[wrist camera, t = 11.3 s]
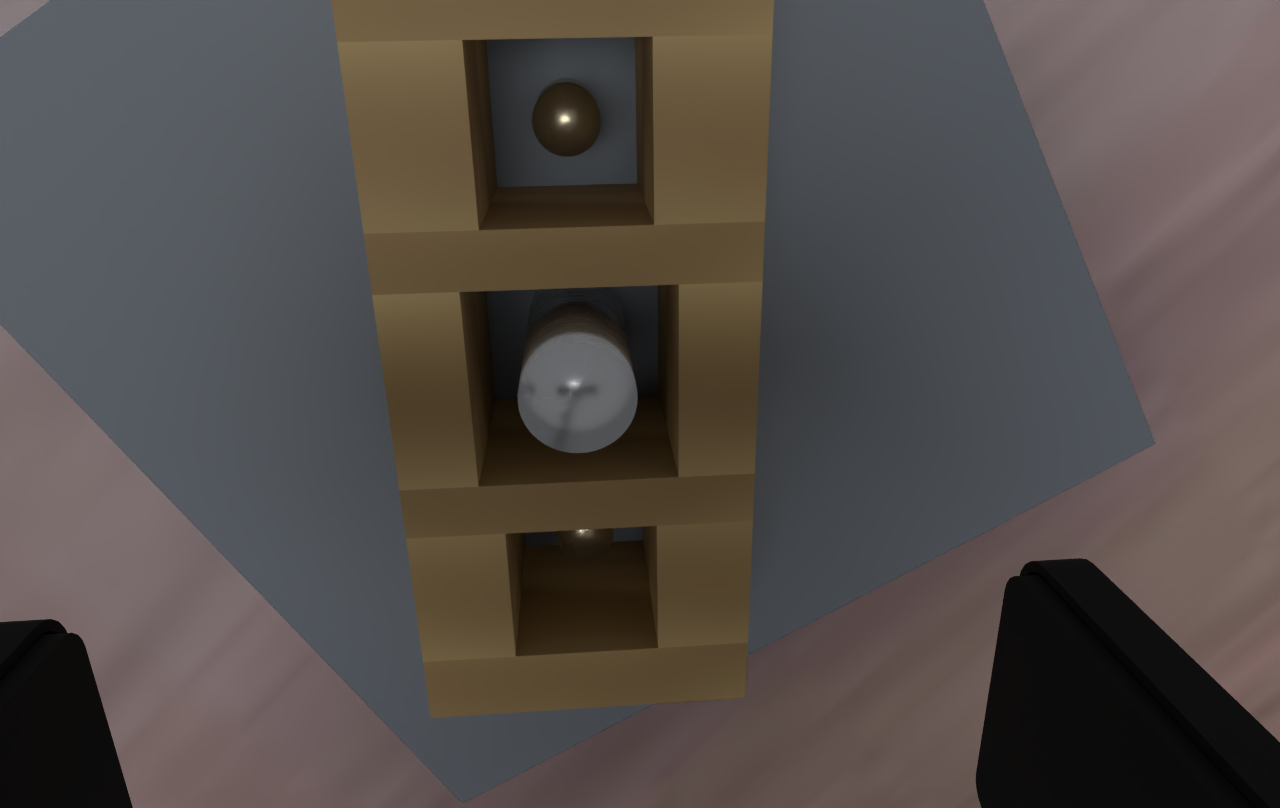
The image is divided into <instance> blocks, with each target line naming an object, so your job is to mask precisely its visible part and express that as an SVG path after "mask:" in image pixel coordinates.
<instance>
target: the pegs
mask: <svg viewBox="0 0 1280 808" xmlns="http://www.w3.org/2000/svg"><path fill="white" fill-rule="evenodd" d="M532 126H533V131H534V133H535V136H536V138H537V140H538V141H539V143H540V144H541V145H542V146H543V147H544V148H545V149H546V150H548V151H549V152H551V153H553V154H555V155H558V156H563V157H572V156H577V155H579V154H582V153H584V152H585V151H587V150H588V149H589V148H590V147H591V146H592V145H593V144H594V143H595V141H596V139H597V138H598V135H599V132H600V128H601V115H600V111H599V108H598V105H597V102H596V99H595V97H594V95H593V93H592V92H591V90H590V89H589V88H588V87H587V86H586V85H585V84H583V83H582V82H580V81H578V80H575V79H571V78H561V79H557V80H554V81H552V82H550V83H549V84H548V85H546V86H545V87H544V89H543V90H542V91H541V93H540V95H539V97H538V99H537V102H536V104H535V107H534V109H533V114H532ZM637 399H638V396H637V387H636V382H635V376H634V371H633V365H632V360H631V354H630V349H629V343H628V338H627V332H626V327H625V322H624V316H623V311H622V306H621V303H620V300H619V298H618V296H617V294H616V293H615V291H614V290H613V288H612V287H592V288H563V289H538V290H537V292H536V293H535V295H534V297H533V299H532V301H531V305H530V309H529V317H528V324H527V331H526V338H525V345H524V353H523V360H522V367H521V374H520V382H519V389H518V407H519V412H520V415H521V418H522V420H523V422H524V424H525V425H526V427H527V429H528V430H529V431H530V432H531V433H532V435H534V436H535V437H536V438H537V439H538V440H539V441H541V442H542V443H544V444H545V445H547V446H549V447H551V448H553V449H556V450H559V451H563V452H569V453H587V452H592V451H596V450H599V449H602V448H604V447H606V446H608V445H610V444H611V443H613V442H614V441H616V440H617V439H618V438H619V437H620V436H621V435H622V434H623V433H624V432H625V431H626V430H627V428H628V427H629V425H630V424H631V422H632V420H633V418H634V415H635V412H636V408H637ZM557 542H558V545H559V547H560V549H561V550H562V551H563V552H564V553H565V554H566V555H567V556H569V557H571V558H573V559H577V560H592V559H596V558H598V557H600V556H602V555H603V554H605V553H606V552H607V551H608V549H609V548H610V547H611V545H612V542H613V528H606V529H587V530H567V531H557Z"/></svg>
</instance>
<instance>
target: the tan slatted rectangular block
mask: <svg viewBox="0 0 1280 808" xmlns="http://www.w3.org/2000/svg"><path fill="white" fill-rule="evenodd" d="M331 3H332V10H333V17H334V24H335V31H336V39H337V46H338V53H339V60H340V67H341V75H342V82H343V89H344V96H345V103H346V111H347V118H348V125H349V132H350V140H351V147H352V154H353V161H354V168H355V176H356V183H357V190H358V197H359V204H360V212H361V219H362V226H363V233H364V240H365V248H366V255H367V262H368V269H369V276H370V284H371V291H372V298H373V305H374V313H375V320H376V327H377V334H378V341H379V349H380V356H381V363H382V370H383V377H384V385H385V392H386V399H387V406H388V413H389V421H390V428H391V435H392V442H393V450H394V457H395V464H396V471H397V478H398V486H399V493H400V500H401V507H402V514H403V522H404V529H405V536H406V543H407V550H408V558H409V565H410V572H411V579H412V586H413V594H414V601H415V608H416V615H417V623H418V630H419V637H420V644H421V651H422V659H423V666H424V673H425V680H426V687H427V695H428V702H429V709H430V716H431V718H437V717H453V716H469V715H485V714H501V713H517V712H532V711H548V710H564V709H580V708H596V707H612V706H628V705H643V704H659V703H675V702H691V701H707V700H723V699H738V698H746V679H747V655H748V630H749V605H750V580H751V556H752V531H753V506H754V482H755V457H756V432H757V408H758V383H759V358H760V334H761V309H762V284H763V260H764V235H765V210H766V186H767V161H768V136H769V112H770V87H771V62H772V38H773V13H774V0H331ZM599 37H635V87H636V149H637V183H631V184H595V185H559V186H522V187H497V176H496V163H495V150H494V137H493V124H492V111H491V98H490V85H489V72H488V59H487V46H486V39H542V38H599ZM650 285H658V393H643V394H637V396H638V399H637V408H636V412H635V415H634V418H633V420H632V422H631V424H630V425H629V427H628V428H627V430H626V431H625V432H624V433H623V434H622V435H621V436H620V437H619V438H618V439H617V440H616V441H614V442H613V443H611V444H610V445H608V446H606V447H604V448H602V449H599V450H596V451H592V452H587V453H569V452H563V451H559V450H556V449H553V448H551V447H549V446H547V445H545V444H544V443H542V442H541V441H539V440H538V439H537V438H536V437H535V436H534V435H532V433H531V432H530V431H529V430H528V429H527V427H526V425H525V424H524V422H523V420H522V418H521V415H520V412H519V407H518V399H500V400H495V388H494V377H493V365H492V354H491V342H490V330H489V319H488V307H487V296H486V291H505V290H534V289H563V288H592V287H621V286H650ZM626 527H643V540H637V541H618V542H612V545H611V547H610V548H609V549H608V551H607V552H606V553H605V554H603V555H602V556H600V557H598V558H596V559H592V560H577V559H573V558H571V557H569V556H567V555H566V554H565V553H564V552H563V551H562V550H561V549H560V547H559V545H541V546H525V538H524V533H528V532H547V531H567V530H587V529H606V528H626Z"/></svg>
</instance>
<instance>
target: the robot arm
mask: <svg viewBox="0 0 1280 808" xmlns="http://www.w3.org/2000/svg"><path fill="white" fill-rule="evenodd" d="M976 787H977V793H978V798H979V801H980V804H981V807H982V808H1280V742H1279V741H1278V740H1277V739H1276V738H1275V737H1274V736H1273V735H1272V734H1271V733H1270V732H1268V731H1267V730H1266V729H1265V728H1264V727H1263V726H1262V725H1261V724H1260V723H1259V722H1258V721H1257V720H1256V719H1255V718H1254V717H1253V716H1252V715H1251V714H1250V713H1249V712H1248V711H1247V710H1246V709H1244V708H1243V707H1242V706H1241V705H1240V704H1239V703H1238V702H1237V701H1236V700H1235V699H1234V698H1233V697H1232V696H1231V695H1230V694H1229V693H1228V692H1227V691H1226V690H1225V689H1224V688H1223V687H1222V686H1220V685H1219V684H1218V683H1217V682H1216V681H1215V680H1214V679H1213V678H1212V677H1211V676H1210V675H1209V674H1208V673H1207V672H1206V671H1205V670H1204V669H1203V668H1202V667H1201V666H1200V665H1199V664H1198V663H1196V662H1195V661H1194V660H1193V659H1192V658H1191V657H1190V656H1189V655H1188V654H1187V653H1186V652H1185V651H1184V650H1183V649H1182V648H1181V647H1180V646H1179V645H1178V644H1177V643H1176V642H1175V641H1174V640H1172V639H1171V638H1170V637H1169V636H1168V635H1167V634H1166V633H1165V632H1164V631H1163V630H1162V629H1161V628H1160V627H1159V626H1158V625H1157V624H1156V623H1155V622H1154V621H1153V620H1152V619H1151V618H1149V617H1148V616H1147V615H1146V614H1145V613H1144V612H1143V611H1142V610H1141V609H1140V608H1139V607H1138V606H1137V605H1136V604H1135V603H1134V602H1133V601H1132V600H1131V599H1130V598H1129V597H1128V596H1127V595H1125V594H1124V593H1123V592H1122V591H1121V590H1120V589H1119V588H1118V587H1117V586H1116V585H1115V584H1114V583H1113V582H1112V581H1111V580H1110V579H1109V578H1108V577H1107V576H1106V575H1105V574H1104V573H1103V572H1101V571H1100V570H1099V569H1098V568H1097V567H1096V566H1095V565H1094V564H1093V563H1091V562H1090V561H1088V560H1087V559H1080V558H1079V559H1062V560H1045V561H1031V562H1029V563H1027V564H1025V566H1024V567H1023V569H1022V570H1021V573H1020V576H1014V577H1012V578H1010V579H1009V581H1008V582H1007V584H1006V588H1005V592H1004V599H1003V605H1002V612H1001V618H1000V624H999V631H998V637H997V644H996V650H995V656H994V663H993V669H992V676H991V682H990V688H989V695H988V701H987V707H986V714H985V720H984V727H983V733H982V739H981V746H980V752H979V759H978V765H977V771H976ZM0 808H133V807H132V804H131V800H130V797H129V794H128V790H127V787H126V783H125V780H124V777H123V773H122V770H121V766H120V763H119V760H118V756H117V753H116V749H115V746H114V743H113V739H112V736H111V732H110V729H109V726H108V722H107V719H106V715H105V712H104V708H103V705H102V702H101V698H100V695H99V691H98V688H97V685H96V681H95V678H94V674H93V671H92V668H91V664H90V661H89V657H88V654H87V651H86V647H85V645H84V643H83V640H82V639H81V638H80V637H79V636H78V635H77V634H74V633H67V632H66V629H65V628H64V627H63V626H62V624H61V623H60V622H58V621H55V620H52V619H46V620H29V621H12V622H0Z"/></svg>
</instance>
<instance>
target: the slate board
mask: <svg viewBox="0 0 1280 808" xmlns="http://www.w3.org/2000/svg"><path fill="white" fill-rule="evenodd" d="M486 46H487V59H488V72H489V85H490V98H491V111H492V124H493V137H494V150H495V163H496V176H497V187H522V186H559V185H595V184H631V183H637V149H636V87H635V37H599V38H542V39H486ZM561 78H571V79H575V80H578V81H580V82H582V83H583V84H585V85H586V86H587V87H588V88H589V89H590V90H591V92H592V93H593V95H594V97H595V99H596V102H597V105H598V108H599V111H600V115H601V128H600V132H599V135H598V138H597V139H596V141H595V143H594V144H593V145H592V146H591V147H590V148H589V149H588V150H587V151H585V152H584V153H582V154H579V155H577V156H572V157H563V156H558V155H555V154H553V153H551V152H549V151H548V150H546V149H545V148H544V147H543V146H542V145H541V144H540V143H539V141H538V140H537V138H536V136H535V133H534V131H533V126H532V114H533V109H534V107H535V104H536V102H537V99H538V97H539V95H540V93H541V91H542V90H543V89H544V87H545V86H546V85H548V84H549V83H550V82H552V81H554V80H557V79H561ZM612 288H613V290H614V291H615V293H616V294H617V296H618V298H619V300H620V303H621V306H622V311H623V316H624V322H625V327H626V332H627V338H628V343H629V349H630V354H631V360H632V365H633V371H634V376H635V382H636V387H637V394H643V393H658V285H650V286H621V287H612ZM537 290H538V289H534V290H505V291H486V296H487V307H488V319H489V330H490V342H491V354H492V365H493V377H494V388H495V400H500V399H518V389H519V382H520V374H521V367H522V360H523V353H524V345H525V338H526V331H527V324H528V317H529V309H530V305H531V301H532V299H533V297H534V295H535V293H536V292H537ZM0 324H1V325H2V326H3V327H4V329H5V330H6V331H7V332H8V333H9V334H10V335H11V336H12V337H13V338H14V339H15V340H16V341H17V342H18V343H19V344H20V345H21V346H22V347H23V348H24V349H25V350H26V351H27V352H28V353H29V354H30V355H31V357H32V358H33V359H34V360H35V361H36V362H37V363H38V364H39V365H40V366H41V367H42V368H43V369H44V370H45V371H46V372H47V373H48V374H49V375H50V376H51V377H52V378H53V379H54V380H55V381H56V382H57V384H58V385H59V386H60V387H61V388H62V389H63V390H64V391H65V392H66V393H67V394H68V395H69V396H70V397H71V398H72V399H73V400H74V401H75V402H76V403H77V404H78V405H79V406H80V407H81V408H82V409H83V410H84V412H85V413H86V414H87V415H88V416H89V417H90V418H91V419H92V420H93V421H94V422H95V423H96V424H97V425H98V426H99V427H100V428H101V429H102V430H103V431H104V432H105V433H106V434H107V435H108V436H109V437H110V439H111V440H112V441H113V442H114V443H115V444H116V445H117V446H118V447H119V448H120V449H121V450H122V451H123V452H124V453H125V454H126V455H127V456H128V457H129V458H130V459H131V460H132V461H133V462H134V463H135V464H136V466H137V467H138V468H139V469H140V470H141V471H142V472H143V473H144V474H145V475H146V476H147V477H148V478H149V479H150V480H151V481H152V482H153V483H154V484H155V485H156V486H157V487H158V488H159V489H160V490H161V491H162V492H163V494H164V495H165V496H166V497H167V498H168V499H169V500H170V501H171V502H172V503H173V504H174V505H175V506H176V507H177V508H178V509H179V510H180V511H181V512H182V513H183V514H184V515H185V516H186V517H187V518H188V519H189V521H190V522H191V523H192V524H193V525H194V526H195V527H196V528H197V529H198V530H199V531H200V532H201V533H202V534H203V535H204V536H205V537H206V538H207V539H208V540H209V541H210V542H211V543H212V544H213V545H214V546H215V547H216V549H217V550H218V551H219V552H220V553H221V554H222V555H223V556H224V557H225V558H226V559H227V560H228V561H229V562H230V563H231V564H232V565H233V566H234V567H235V568H236V569H237V570H238V571H239V572H240V573H241V574H242V576H243V577H244V578H245V579H246V580H247V581H248V582H249V583H250V584H251V585H252V586H253V587H254V588H255V589H256V590H257V591H258V592H259V593H260V594H261V595H262V596H263V597H264V598H265V599H266V600H267V601H268V603H269V604H270V605H271V606H272V607H273V608H274V609H275V610H276V611H277V612H278V613H279V614H280V615H281V616H282V617H283V618H284V619H285V620H286V621H287V622H288V623H289V624H290V625H291V626H292V627H293V628H294V629H295V631H296V632H297V633H298V634H299V635H300V636H301V637H302V638H303V639H304V640H305V641H306V642H307V643H308V644H309V645H310V646H311V647H312V648H313V649H314V650H315V651H316V652H317V653H318V654H319V655H320V656H321V658H322V659H323V660H324V661H325V662H326V663H327V664H328V665H329V666H330V667H331V668H332V669H333V670H334V671H335V672H336V673H337V674H338V675H339V676H340V677H341V678H342V679H343V680H344V681H345V682H346V683H347V684H348V686H349V687H350V688H351V689H352V690H353V691H354V692H355V693H356V694H357V695H358V696H359V697H360V698H361V699H362V700H363V701H364V702H365V703H366V704H367V705H368V706H369V707H370V708H371V709H372V710H373V711H374V713H375V714H376V715H377V716H378V717H379V718H380V719H381V720H382V721H383V722H384V723H385V724H386V725H387V726H388V727H389V728H390V729H391V730H392V731H393V732H394V733H395V734H396V735H397V736H398V737H399V738H400V739H401V741H402V742H403V743H404V744H405V745H406V746H407V747H408V748H409V749H410V750H411V751H412V752H413V753H414V754H415V755H416V756H417V757H418V758H419V759H420V760H421V761H422V762H423V763H424V764H425V765H426V766H427V768H428V769H429V770H430V771H431V772H432V773H433V774H434V775H435V776H436V777H437V778H438V779H439V780H440V781H441V782H442V783H443V784H444V785H445V786H446V787H447V788H448V789H449V790H450V791H451V792H452V793H453V795H454V796H455V797H456V798H457V799H458V800H459V801H460V802H461V803H464V802H466V801H468V800H470V799H472V798H474V797H476V796H478V795H480V794H482V793H484V792H485V791H487V790H489V789H491V788H493V787H495V786H497V785H499V784H501V783H503V782H505V781H507V780H509V779H510V778H512V777H514V776H516V775H518V774H520V773H522V772H524V771H526V770H528V769H530V768H532V767H534V766H536V765H537V764H539V763H541V762H543V761H545V760H547V759H549V758H551V757H553V756H555V755H557V754H559V753H561V752H562V751H564V750H566V749H568V748H570V747H572V746H574V745H576V744H578V743H580V742H582V741H584V740H586V739H588V738H589V737H591V736H593V735H595V734H597V733H599V732H601V731H603V730H605V729H607V728H609V727H611V726H613V725H614V724H616V723H618V722H620V721H622V720H624V719H626V718H628V717H630V716H632V715H634V714H636V713H638V712H640V711H641V710H643V709H645V708H647V707H649V706H651V705H653V704H643V705H628V706H612V707H596V708H580V709H564V710H548V711H532V712H517V713H501V714H485V715H469V716H453V717H437V718H431V716H430V709H429V702H428V695H427V687H426V680H425V673H424V666H423V659H422V651H421V644H420V637H419V630H418V623H417V615H416V608H415V601H414V594H413V586H412V579H411V572H410V565H409V558H408V550H407V543H406V536H405V529H404V522H403V514H402V507H401V500H400V493H399V486H398V478H397V471H396V464H395V457H394V450H393V442H392V435H391V428H390V421H389V413H388V406H387V399H386V392H385V385H384V377H383V370H382V363H381V356H380V349H379V341H378V334H377V327H376V320H375V313H374V305H373V298H372V291H371V284H370V276H369V269H368V262H367V255H366V248H365V240H364V233H363V226H362V219H361V212H360V204H359V197H358V190H357V183H356V176H355V168H354V161H353V154H352V147H351V140H350V132H349V125H348V118H347V111H346V103H345V96H344V89H343V82H342V75H341V67H340V60H339V53H338V46H337V39H336V31H335V24H334V17H333V10H332V3H331V0H50V1H49V2H48V3H46V4H45V5H44V6H42V7H41V8H40V9H38V10H37V11H36V12H34V13H33V14H31V15H30V16H29V17H27V18H26V19H25V20H23V21H22V22H21V23H19V24H18V25H17V26H15V27H14V28H12V29H11V30H10V31H8V32H7V33H6V34H4V35H3V36H2V37H0ZM1154 444H1155V442H1154V439H1153V437H1152V434H1151V431H1150V429H1149V426H1148V424H1147V421H1146V419H1145V416H1144V413H1143V411H1142V408H1141V406H1140V403H1139V401H1138V398H1137V395H1136V393H1135V390H1134V388H1133V385H1132V383H1131V380H1130V377H1129V375H1128V372H1127V370H1126V367H1125V365H1124V362H1123V359H1122V357H1121V354H1120V352H1119V349H1118V347H1117V344H1116V341H1115V339H1114V336H1113V334H1112V331H1111V329H1110V326H1109V323H1108V321H1107V318H1106V316H1105V313H1104V311H1103V308H1102V305H1101V303H1100V300H1099V298H1098V295H1097V293H1096V290H1095V287H1094V285H1093V282H1092V280H1091V277H1090V275H1089V272H1088V269H1087V267H1086V264H1085V262H1084V259H1083V257H1082V254H1081V251H1080V249H1079V246H1078V244H1077V241H1076V239H1075V236H1074V233H1073V231H1072V228H1071V226H1070V223H1069V221H1068V218H1067V215H1066V213H1065V210H1064V208H1063V205H1062V203H1061V200H1060V197H1059V195H1058V192H1057V190H1056V187H1055V185H1054V182H1053V179H1052V177H1051V174H1050V172H1049V169H1048V167H1047V164H1046V161H1045V159H1044V156H1043V154H1042V151H1041V149H1040V146H1039V143H1038V141H1037V138H1036V136H1035V133H1034V131H1033V128H1032V125H1031V123H1030V120H1029V118H1028V115H1027V113H1026V110H1025V107H1024V105H1023V102H1022V100H1021V97H1020V95H1019V92H1018V89H1017V87H1016V84H1015V82H1014V79H1013V77H1012V74H1011V71H1010V69H1009V66H1008V64H1007V61H1006V59H1005V56H1004V53H1003V51H1002V48H1001V46H1000V43H999V41H998V38H997V35H996V33H995V30H994V28H993V25H992V23H991V20H990V17H989V15H988V12H987V10H986V7H985V4H984V2H983V0H774V13H773V38H772V62H771V87H770V112H769V136H768V161H767V186H766V210H765V235H764V260H763V284H762V309H761V334H760V358H759V383H758V408H757V432H756V457H755V482H754V506H753V531H752V556H751V580H750V605H749V630H748V655H749V654H751V653H753V652H755V651H757V650H759V649H761V648H763V647H765V646H767V645H769V644H770V643H772V642H774V641H776V640H778V639H780V638H782V637H784V636H786V635H788V634H790V633H792V632H794V631H796V630H797V629H799V628H801V627H803V626H805V625H807V624H809V623H811V622H813V621H815V620H817V619H819V618H821V617H822V616H824V615H826V614H828V613H830V612H832V611H834V610H836V609H838V608H840V607H842V606H844V605H846V604H848V603H849V602H851V601H853V600H855V599H857V598H859V597H861V596H863V595H865V594H867V593H869V592H871V591H873V590H874V589H876V588H878V587H880V586H882V585H884V584H886V583H888V582H890V581H892V580H894V579H896V578H898V577H900V576H901V575H903V574H905V573H907V572H909V571H911V570H913V569H915V568H917V567H919V566H921V565H923V564H925V563H926V562H928V561H930V560H932V559H934V558H936V557H938V556H940V555H942V554H944V553H946V552H948V551H950V550H952V549H953V548H955V547H957V546H959V545H961V544H963V543H965V542H967V541H969V540H971V539H973V538H975V537H977V536H978V535H980V534H982V533H984V532H986V531H988V530H990V529H992V528H994V527H996V526H998V525H1000V524H1002V523H1004V522H1005V521H1007V520H1009V519H1011V518H1013V517H1015V516H1017V515H1019V514H1021V513H1023V512H1025V511H1027V510H1029V509H1030V508H1032V507H1034V506H1036V505H1038V504H1040V503H1042V502H1044V501H1046V500H1048V499H1050V498H1052V497H1054V496H1056V495H1057V494H1059V493H1061V492H1063V491H1065V490H1067V489H1069V488H1071V487H1073V486H1075V485H1077V484H1079V483H1081V482H1082V481H1084V480H1086V479H1088V478H1090V477H1092V476H1094V475H1096V474H1098V473H1100V472H1102V471H1104V470H1106V469H1108V468H1109V467H1111V466H1113V465H1115V464H1117V463H1119V462H1121V461H1123V460H1125V459H1127V458H1129V457H1131V456H1133V455H1134V454H1136V453H1138V452H1140V451H1142V450H1144V449H1146V448H1148V447H1150V446H1152V445H1154ZM524 538H525V546H541V545H558V542H557V531H547V532H528V533H524ZM637 540H643V527H626V528H613V542H618V541H637Z"/></svg>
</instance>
